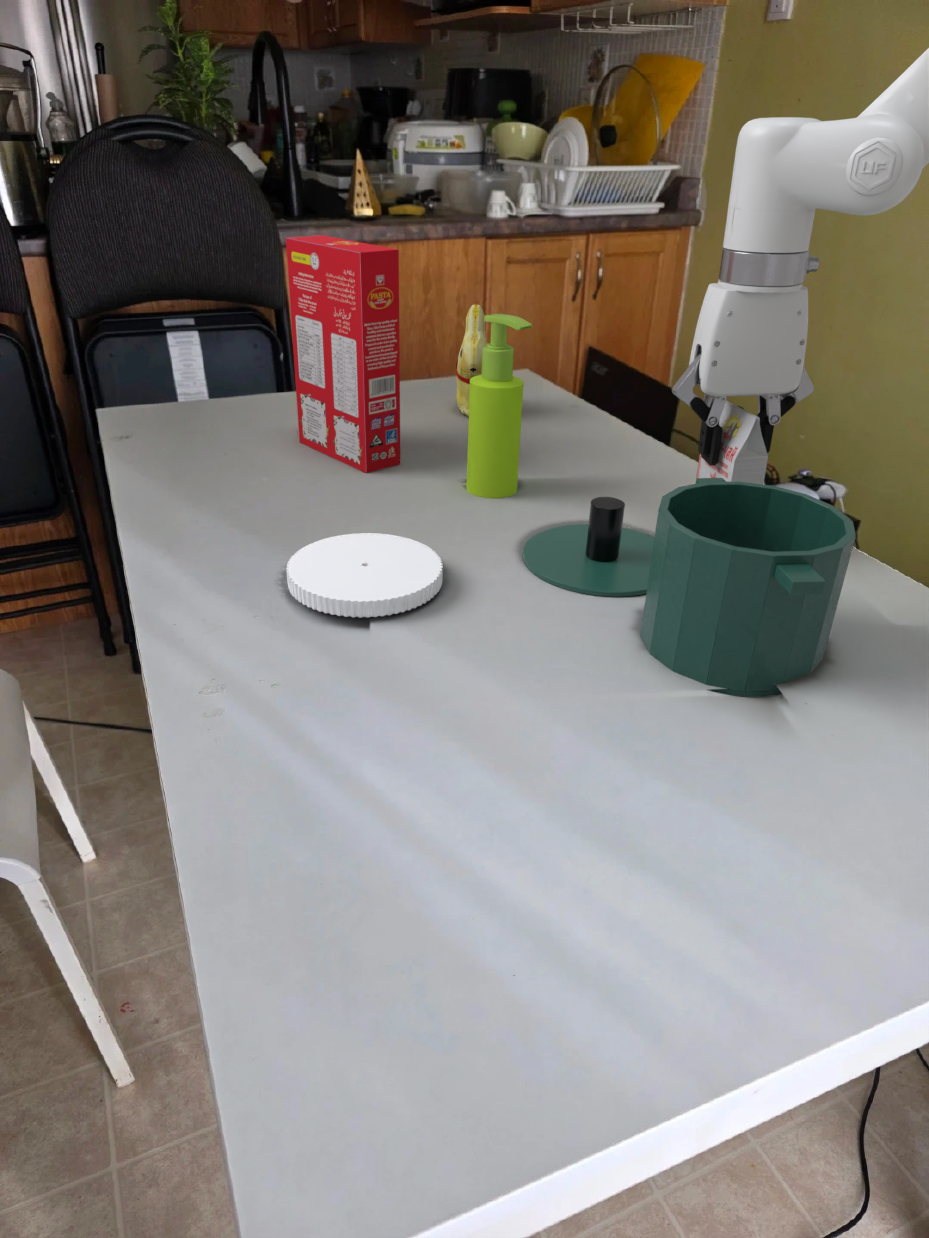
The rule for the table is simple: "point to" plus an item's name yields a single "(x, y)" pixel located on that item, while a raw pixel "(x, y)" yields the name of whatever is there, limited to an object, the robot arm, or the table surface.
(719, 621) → the pot
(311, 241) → the food packaging
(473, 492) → the soap dispenser
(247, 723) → the table surface
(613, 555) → the pot lid
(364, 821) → the table surface
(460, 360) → the chocolate bunny
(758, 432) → the white cardboard box
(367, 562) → the plastic lid
